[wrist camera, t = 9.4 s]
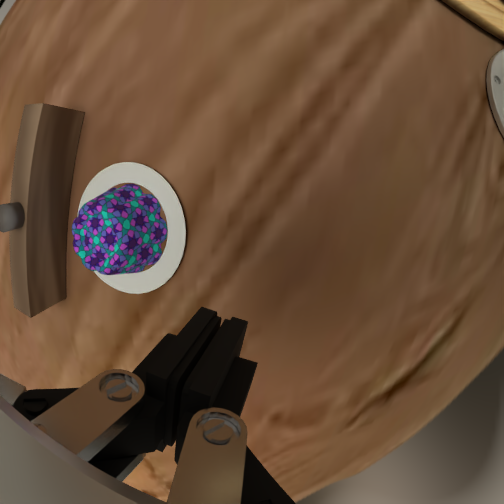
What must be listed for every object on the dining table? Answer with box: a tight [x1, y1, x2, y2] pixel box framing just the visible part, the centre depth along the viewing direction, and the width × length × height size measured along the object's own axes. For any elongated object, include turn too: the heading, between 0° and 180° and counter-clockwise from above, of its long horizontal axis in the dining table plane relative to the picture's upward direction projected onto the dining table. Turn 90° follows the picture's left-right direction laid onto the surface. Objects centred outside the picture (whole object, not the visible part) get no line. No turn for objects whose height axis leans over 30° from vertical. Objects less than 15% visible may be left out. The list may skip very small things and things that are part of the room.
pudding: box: [72, 162, 186, 294], centre depth 23 cm, size 12×12×5 cm
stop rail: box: [0, 103, 85, 318], centre depth 22 cm, size 3×20×8 cm, turn 167°
